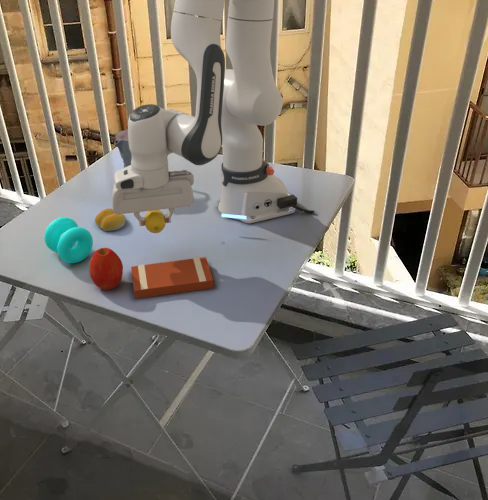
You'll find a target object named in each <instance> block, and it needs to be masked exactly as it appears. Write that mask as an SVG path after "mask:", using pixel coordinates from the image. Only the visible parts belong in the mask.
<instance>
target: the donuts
mask: <svg viewBox="0 0 488 500" xmlns="http://www.w3.org/2000/svg"><path fill="white" fill-rule="evenodd" d="M43 238H44V243H45V245H46V247H47V249H49V250H50V251H52V252H55V253H57V254H58V256H59V258H60V259H61V260H62V261H63V262H65V263H67V264H77V263H79V262H82V261H84V260H85V259H86V258H87V257H88V256H89V255H90V253H91V251H92V250H93V244H94V239H93V236H92V234H91V232H90V231H89V230H88V229H87V228H85V227H82V226H79V225H78V223H77V222H76V221H75V220H74V219H72V218H71V217H68V216H61V217H58V218H55V219H53V220H52V221H51V222H50V223H49V224H48V225H47V227H46V229H45V231H44V237H43Z"/></svg>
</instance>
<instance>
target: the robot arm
mask: <svg viewBox="0 0 488 500" xmlns="http://www.w3.org/2000/svg"><path fill="white" fill-rule="evenodd" d="M225 1H226V0H174V4H173V9H172V11H173V12H172V15H171V16H172V17H171V22H170V40H171V44H172V46H173V47H174V48H175V50H176V52H177V53H178V54H179V55H180V56H181V57H182V58H183V59H184V60H185V61H186V62H187V63H188V64H189V66H190V67H191V68H192V70H193V72H194V74H195V76H196V81H197V88H196V89H197V90H196V102H195V115H191V114H188V113H186V112H184V111H180V110H178V109H166V108H162V107H161V106H159V105H157V104H153V103H149V104H148V103H147V104H143V105H140V106H137V107H135V108H134V109H133V110H131V112H130V113H129V115H128V121H127V126H128V142H129V149H130V151H131V154H132V159H131V165H130V166H127V167H125V168H124V167H122V168H120V169H118V170H116V171H115V172H114V175H113V182H114V183H113V185H112V188H111V189H112V190H111V191H112V192H111V204H112V205H111V206H112V209H113V212H114V213H115V214H123V215H125V214H133V216H134V217H135V219H136V220H137V221H138V223H139V227H144V226H145V216H141V215H140V213H141V212H148V211H151V210H160V211H161V210H168V211H167V213H165V214H164V213H163V215H164V217H165V222H166V224H170V223H172V219H171V218H172V216H173V215H174V213H175V209H178V208H184V207H185V208H187V207H192V205H193V204H194V202H195V200H194V198H195V197H194V191H193V188H192V186H193V185H194V183H195V180H194V179H195V178H194V174H193V173H192V172H191V171H188V170H187V169H182V170H173V171H169V160H168V159H169V158H168V156H169V155H170V154H175V155H177V156H179V157H182V158H184V160H186V161H188V162H189V163H191V164H193V165H194V166H204V165H206V164H208V163H210V162H212V161H213V160H214V159H215V158H217V156H218V155H219V154H220V152H221V151H222V162H221V166H220V167H221V169H220V180H221V184H222V185H221V195H220V199H219V203H218V207H217V210H218V211H219V213H220V214H221V218H230V219H232V220H233V219H234V220H237V221H241V222H243V223H245V224H254V223H257V222H263V221H266V220H270V219H275V218H279V217H283V216H287V215H292V214H295V213H296V211H297V210H298V211H300V212H302V211H304V212H303V213H307V214H315V210H314V209H313V210H311V209H304V208H302V207H299V206H297V205H298V197H297V196H295V194H291V193H289V192H288V189H287V186H286V184H285V183H284V182H283V180H281V179H280V178H279V177H277V176H276V175H274V174H275V170H274V168H273V167H272V166H270V164H269V163H268V162H267V161H266V160H265V159H264V158H263V157H264V156H263V155H264V152H263V150H264V139H263V135H262V132H261V130H260V128H259V127H258V126H261V127H265V126H269V125H271V124H273V123H274V122H275V121H276V120H277V119H278V118H279V116H280V114H281V112H282V109H283V106H284V105H283V104H284V102H283V101H284V100H283V96H282V93H281V92H280V91H279V89H278V87H277V84H276V82H275V77H274V73H273V68H272V60H271V41H272V32H273V21H274V13H275V12H274V11H275V0H229V2H228V8H227V9H228V10H227V21H226V34H225V52H226V54H227V56H228V58H229V60H230V64H231V66H232V69H230V68H226V57H225V53H224V50H223V49H222V43H221V42H222V41H221V28H222V23H223V22H222V21H223V16H224V9H225ZM290 207H293V208H295V209H294V210H293V211H289V208H290ZM288 211H289V212H288ZM145 227H146V226H145Z"/></svg>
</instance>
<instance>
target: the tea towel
mask: <svg viewBox="0 0 488 500" xmlns="http://www.w3.org/2000/svg"><path fill="white" fill-rule="evenodd" d="M130 269H131V277H132V278H131V279H132V287H133V295H134V299H141V298H149V297H150V298H151V297H158V296H164V295H165V296H166V295H172V294H179V293H186V292H188V293H189V292H195V291H202V290H209V289H214V278H213V275H212V272H211V269H210V265H209V262H208V259H207V256H203V257H199V256H197V257H193V258H186V259H178V260H172V261H171V260H170V261H163V262H156V263H148V264H138V265H133V266H131V267H130Z"/></svg>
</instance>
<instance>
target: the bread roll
mask: <svg viewBox="0 0 488 500" xmlns="http://www.w3.org/2000/svg"><path fill="white" fill-rule="evenodd" d="M126 219H127V218H126V216H125V214H115V213H114V212H113V208H105V209H102V210H101V211H99V212H98V213H97V214H96V215H95V218H94V222H95V224H96V226H97V227H98V228H100V229H101V230H103V231H105V232H113V231H117V230H120V229H122V228H123V227H124V226H125V224H126V221H127V220H126Z"/></svg>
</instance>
